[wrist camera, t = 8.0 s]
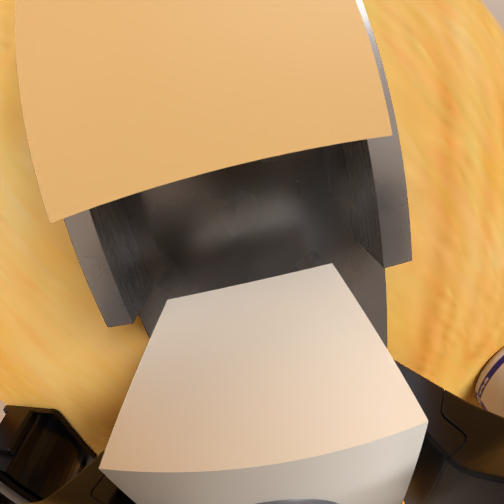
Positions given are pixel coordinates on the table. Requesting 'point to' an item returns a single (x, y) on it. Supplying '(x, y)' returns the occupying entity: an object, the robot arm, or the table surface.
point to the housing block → (267, 401)
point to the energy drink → (492, 385)
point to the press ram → (185, 89)
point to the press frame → (253, 227)
